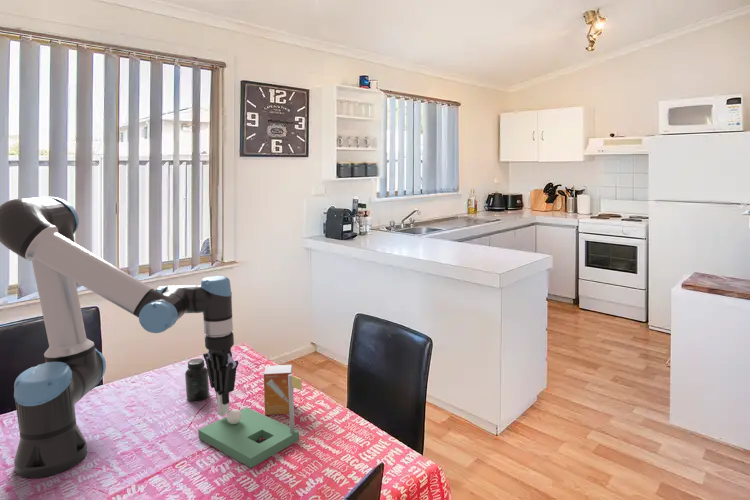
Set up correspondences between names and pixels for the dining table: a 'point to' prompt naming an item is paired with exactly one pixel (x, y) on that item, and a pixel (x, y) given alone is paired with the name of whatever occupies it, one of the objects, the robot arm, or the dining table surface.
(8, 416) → the dining table surface
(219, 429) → the putting green
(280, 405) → the small box
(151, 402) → the dining table surface
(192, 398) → the supplement bottle
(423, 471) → the dining table surface
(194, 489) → the dining table surface
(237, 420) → the ball
